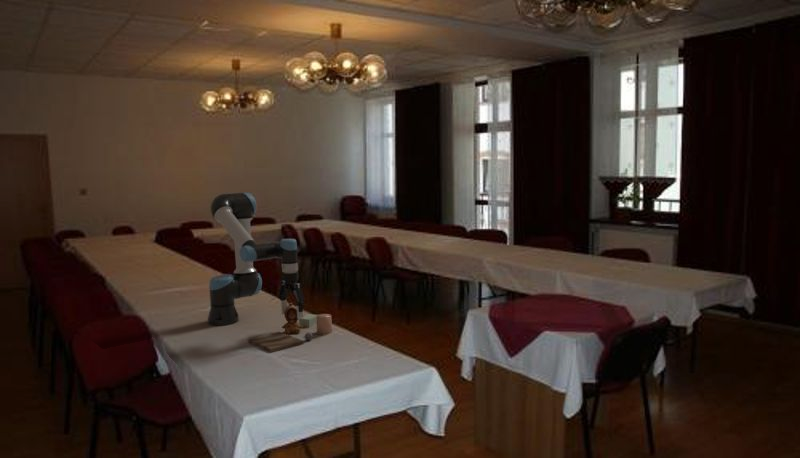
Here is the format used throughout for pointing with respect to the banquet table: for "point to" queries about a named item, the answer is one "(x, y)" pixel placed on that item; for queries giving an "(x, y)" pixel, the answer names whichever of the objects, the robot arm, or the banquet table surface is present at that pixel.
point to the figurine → (291, 320)
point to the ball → (308, 336)
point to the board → (275, 341)
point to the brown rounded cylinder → (324, 324)
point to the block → (308, 320)
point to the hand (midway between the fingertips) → (292, 316)
